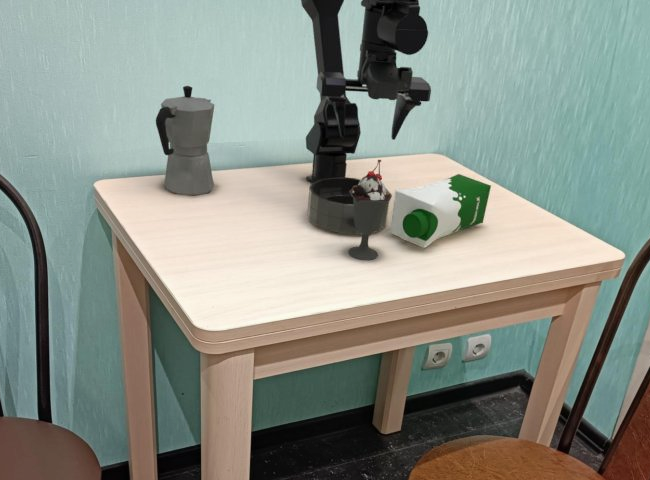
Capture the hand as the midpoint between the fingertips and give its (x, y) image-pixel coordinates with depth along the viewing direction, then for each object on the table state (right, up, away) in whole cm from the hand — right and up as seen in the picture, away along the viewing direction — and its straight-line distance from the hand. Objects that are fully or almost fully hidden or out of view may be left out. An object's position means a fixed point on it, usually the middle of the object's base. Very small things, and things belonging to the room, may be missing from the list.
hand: (367, 138), depth 133 cm
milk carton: (+19, -9, +5) cm, 22 cm away
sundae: (-1, -22, -9) cm, 24 cm away
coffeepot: (-33, -7, +8) cm, 35 cm away
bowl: (-4, -14, +2) cm, 15 cm away
